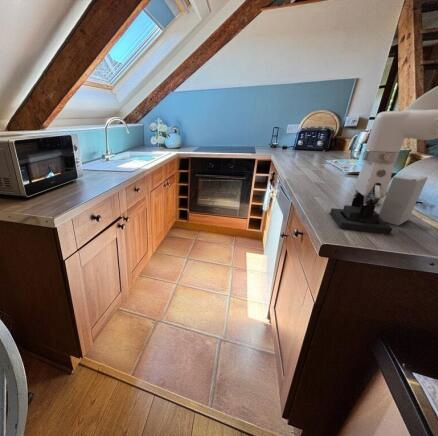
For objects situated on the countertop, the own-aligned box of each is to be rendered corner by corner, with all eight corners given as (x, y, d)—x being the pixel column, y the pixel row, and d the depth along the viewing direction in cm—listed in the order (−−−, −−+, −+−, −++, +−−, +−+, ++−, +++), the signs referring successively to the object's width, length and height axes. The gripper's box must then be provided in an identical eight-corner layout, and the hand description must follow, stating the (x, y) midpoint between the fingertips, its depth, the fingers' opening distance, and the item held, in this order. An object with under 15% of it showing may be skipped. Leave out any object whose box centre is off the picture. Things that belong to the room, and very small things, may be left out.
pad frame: (372, 218, 83) (374, 212, 82) (390, 234, 71) (392, 228, 70) (330, 213, 87) (331, 208, 86) (340, 228, 75) (341, 222, 75)
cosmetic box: (386, 215, 85) (402, 172, 79) (409, 220, 80) (429, 176, 74) (375, 219, 81) (391, 175, 75) (399, 226, 76) (419, 179, 70)
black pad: (368, 214, 80) (370, 207, 79) (376, 222, 74) (379, 215, 73) (342, 212, 83) (344, 205, 82) (348, 219, 77) (350, 211, 76)
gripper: (411, 162, 62) (386, 225, 69) (383, 153, 77) (365, 206, 84) (374, 161, 65) (353, 221, 72) (354, 152, 80) (338, 204, 87)
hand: (360, 213), depth 78 cm, fingers closed on black pad, 7 cm apart
